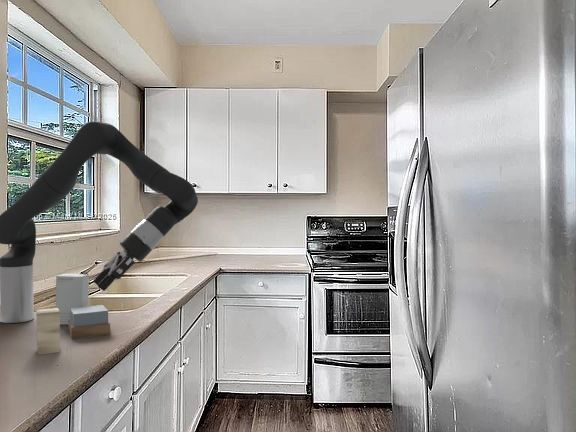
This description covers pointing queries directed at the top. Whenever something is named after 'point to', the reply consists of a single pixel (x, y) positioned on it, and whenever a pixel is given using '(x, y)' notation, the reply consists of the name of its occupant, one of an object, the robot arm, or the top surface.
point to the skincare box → (71, 294)
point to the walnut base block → (88, 330)
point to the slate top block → (88, 315)
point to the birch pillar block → (48, 330)
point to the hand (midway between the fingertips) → (97, 286)
